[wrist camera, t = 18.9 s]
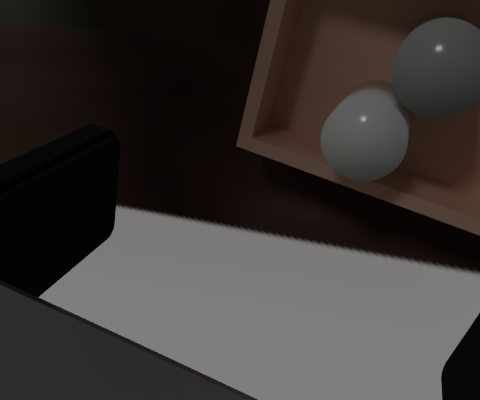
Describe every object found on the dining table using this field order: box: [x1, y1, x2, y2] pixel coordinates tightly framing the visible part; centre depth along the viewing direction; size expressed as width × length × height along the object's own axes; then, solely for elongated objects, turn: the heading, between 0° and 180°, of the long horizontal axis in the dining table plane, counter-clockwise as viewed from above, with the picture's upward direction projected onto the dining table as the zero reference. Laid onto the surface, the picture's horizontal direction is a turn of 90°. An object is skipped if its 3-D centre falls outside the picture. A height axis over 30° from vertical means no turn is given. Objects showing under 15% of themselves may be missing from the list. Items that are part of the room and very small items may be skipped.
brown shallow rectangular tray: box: [236, 0, 480, 235], centre depth 23 cm, size 12×16×4 cm
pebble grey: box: [321, 81, 411, 181], centre depth 23 cm, size 4×4×6 cm
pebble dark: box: [391, 16, 480, 118], centre depth 21 cm, size 4×4×6 cm
